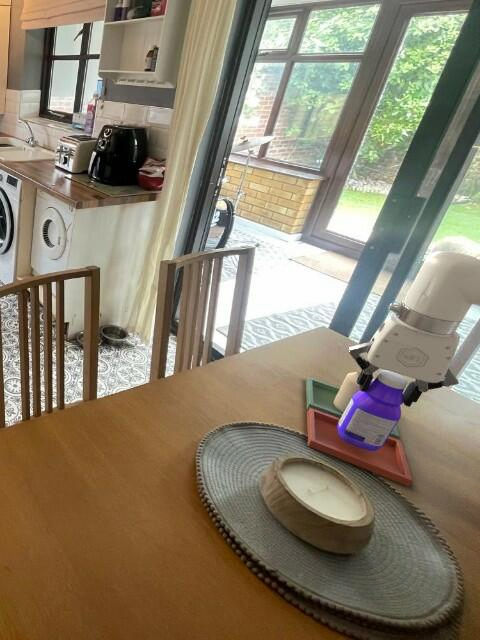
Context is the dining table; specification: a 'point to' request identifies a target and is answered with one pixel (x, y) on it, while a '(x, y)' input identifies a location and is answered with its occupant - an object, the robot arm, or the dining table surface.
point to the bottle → (373, 412)
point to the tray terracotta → (357, 449)
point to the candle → (347, 391)
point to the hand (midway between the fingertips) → (383, 394)
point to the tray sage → (328, 400)
